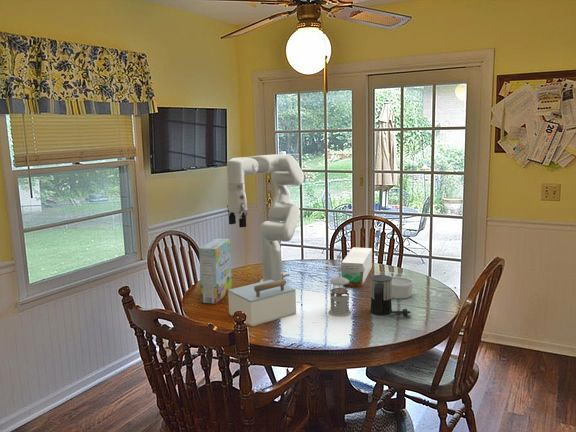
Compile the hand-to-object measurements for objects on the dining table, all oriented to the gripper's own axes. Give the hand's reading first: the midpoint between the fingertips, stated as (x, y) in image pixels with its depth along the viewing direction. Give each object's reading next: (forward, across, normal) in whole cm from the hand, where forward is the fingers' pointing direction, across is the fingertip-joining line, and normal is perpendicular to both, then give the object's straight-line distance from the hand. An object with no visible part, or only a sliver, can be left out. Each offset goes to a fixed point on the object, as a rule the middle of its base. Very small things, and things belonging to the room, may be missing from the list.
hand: (237, 225), depth 228 cm
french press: (+35, -39, -26) cm, 59 cm away
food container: (+34, -17, -52) cm, 64 cm away
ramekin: (+34, -39, -61) cm, 80 cm away
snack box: (+35, +11, +6) cm, 37 cm away
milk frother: (+35, -53, -42) cm, 76 cm away
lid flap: (+25, -21, +1) cm, 33 cm away
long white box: (+34, -3, -68) cm, 76 cm away
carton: (+35, -21, +1) cm, 41 cm away
